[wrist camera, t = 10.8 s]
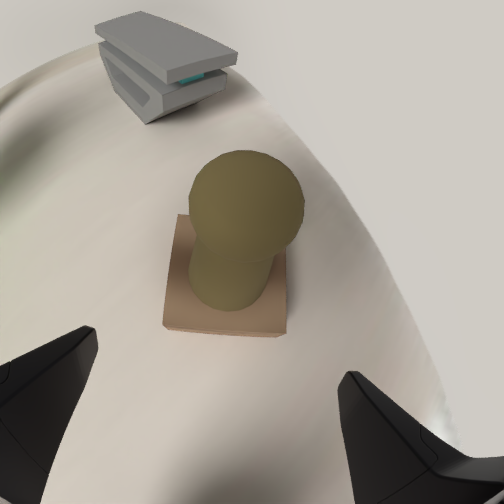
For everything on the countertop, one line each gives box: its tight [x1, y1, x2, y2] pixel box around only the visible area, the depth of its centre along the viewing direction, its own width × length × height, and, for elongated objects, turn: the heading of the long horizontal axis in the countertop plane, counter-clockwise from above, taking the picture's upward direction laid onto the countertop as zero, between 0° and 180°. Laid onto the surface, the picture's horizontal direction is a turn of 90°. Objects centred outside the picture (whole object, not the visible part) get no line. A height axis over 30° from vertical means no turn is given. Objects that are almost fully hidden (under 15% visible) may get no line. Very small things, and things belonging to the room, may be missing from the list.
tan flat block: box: [162, 214, 286, 337], centre depth 22 cm, size 9×9×3 cm
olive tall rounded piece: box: [188, 150, 305, 312], centre depth 16 cm, size 6×6×11 cm
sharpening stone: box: [95, 11, 238, 124], centre depth 27 cm, size 25×8×11 cm, turn 41°
